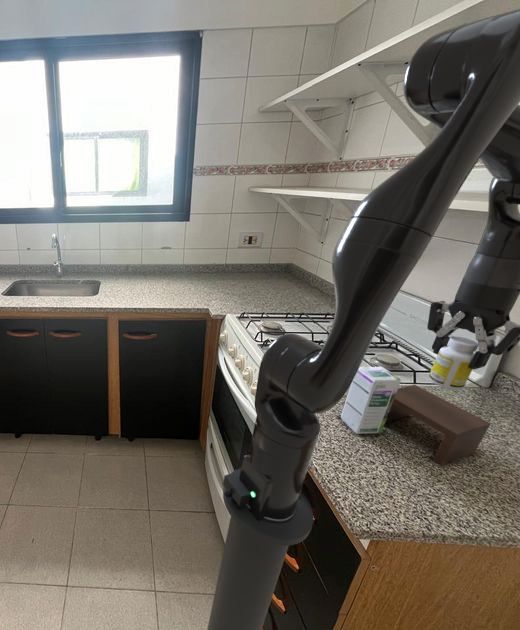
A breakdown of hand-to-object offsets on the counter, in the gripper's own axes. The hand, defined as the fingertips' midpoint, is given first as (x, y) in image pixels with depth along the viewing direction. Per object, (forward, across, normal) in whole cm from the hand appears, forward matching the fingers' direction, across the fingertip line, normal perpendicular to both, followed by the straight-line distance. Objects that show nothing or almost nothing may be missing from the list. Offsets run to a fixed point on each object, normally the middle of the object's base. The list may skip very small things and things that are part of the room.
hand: (455, 360), depth 69 cm
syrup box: (+20, -7, -9) cm, 23 cm away
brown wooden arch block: (+20, 0, 0) cm, 20 cm away
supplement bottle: (+6, 0, 0) cm, 6 cm away
